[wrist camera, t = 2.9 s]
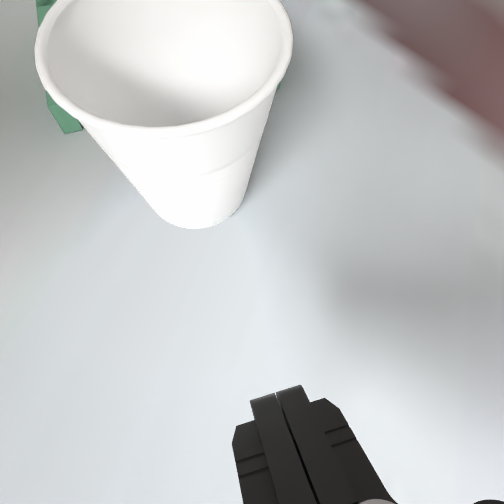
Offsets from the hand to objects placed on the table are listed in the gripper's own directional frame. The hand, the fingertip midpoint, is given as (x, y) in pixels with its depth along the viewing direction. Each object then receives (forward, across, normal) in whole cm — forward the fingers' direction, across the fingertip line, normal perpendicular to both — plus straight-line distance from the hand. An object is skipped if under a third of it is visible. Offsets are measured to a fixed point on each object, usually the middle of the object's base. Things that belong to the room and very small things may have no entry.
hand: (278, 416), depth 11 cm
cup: (+17, 0, -3) cm, 17 cm away
